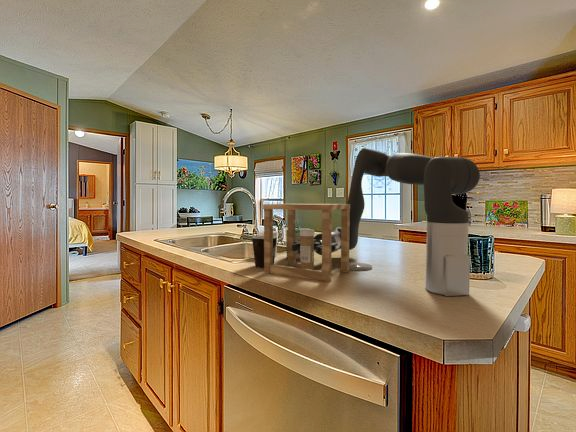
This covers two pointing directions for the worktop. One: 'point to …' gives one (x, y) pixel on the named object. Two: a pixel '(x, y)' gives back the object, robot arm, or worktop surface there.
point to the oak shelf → (294, 269)
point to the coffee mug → (261, 250)
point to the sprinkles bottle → (307, 249)
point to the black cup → (275, 233)
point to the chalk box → (297, 238)
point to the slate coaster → (359, 266)
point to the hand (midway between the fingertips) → (304, 248)
